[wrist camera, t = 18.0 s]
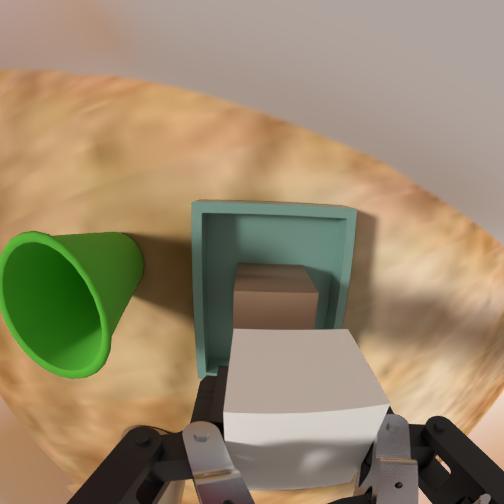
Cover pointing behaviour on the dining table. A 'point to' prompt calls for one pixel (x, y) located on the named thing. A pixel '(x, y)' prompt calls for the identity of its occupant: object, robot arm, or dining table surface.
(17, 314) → the cup
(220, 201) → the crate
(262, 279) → the walnut block
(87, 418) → the dining table surface
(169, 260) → the dining table surface
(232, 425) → the cream box
